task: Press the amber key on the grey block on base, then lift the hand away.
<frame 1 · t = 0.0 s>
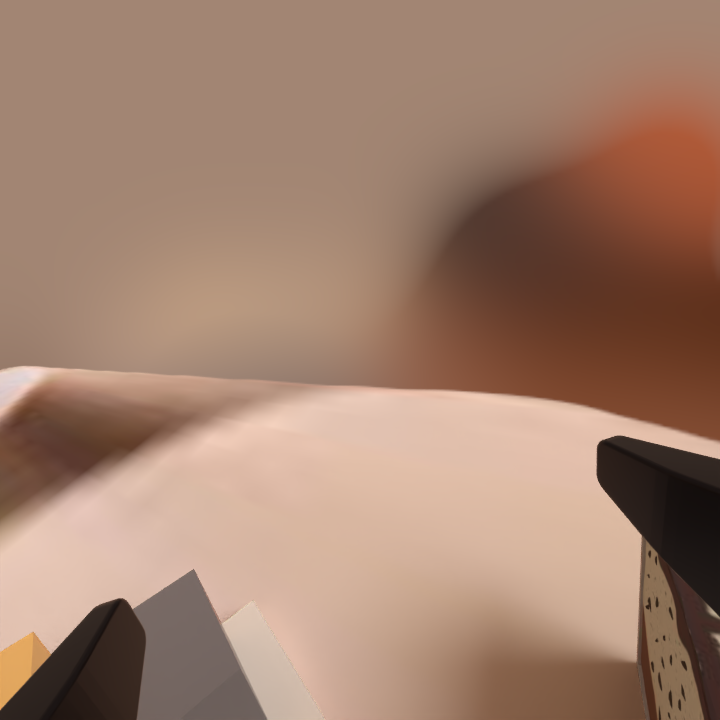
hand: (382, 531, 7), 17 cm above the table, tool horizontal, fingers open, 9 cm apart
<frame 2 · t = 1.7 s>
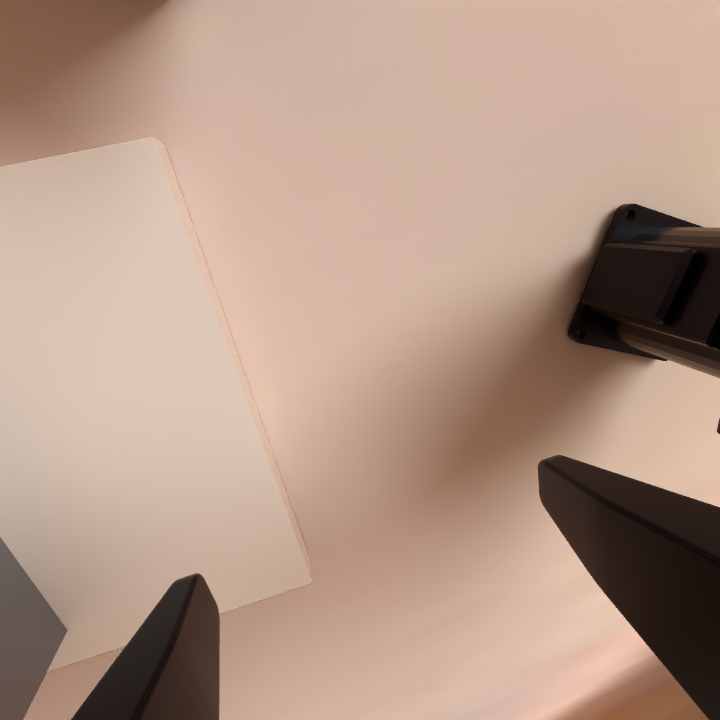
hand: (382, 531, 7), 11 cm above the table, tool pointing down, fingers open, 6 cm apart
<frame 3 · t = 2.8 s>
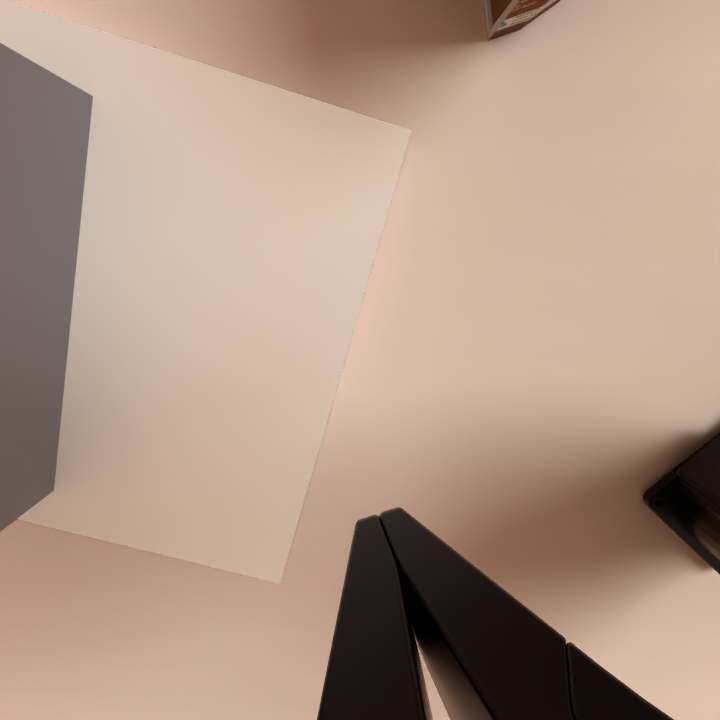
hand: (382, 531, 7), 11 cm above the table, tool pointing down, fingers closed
grey block on base: (20, 292, 17), on the table
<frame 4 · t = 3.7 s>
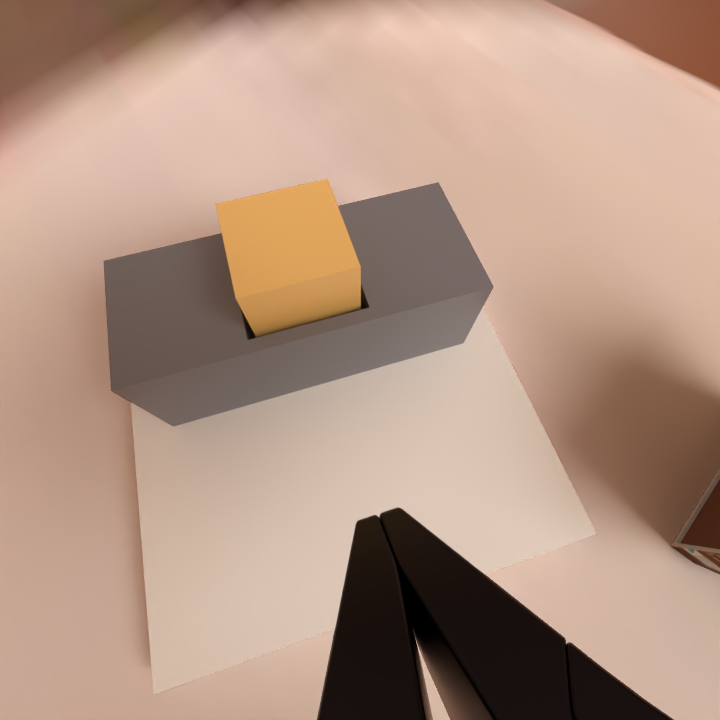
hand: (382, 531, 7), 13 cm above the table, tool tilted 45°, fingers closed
amber key: (291, 259, 16), point 8 cm above the table, slide at 0.0 cm
grey block on base: (312, 344, 24), on the table
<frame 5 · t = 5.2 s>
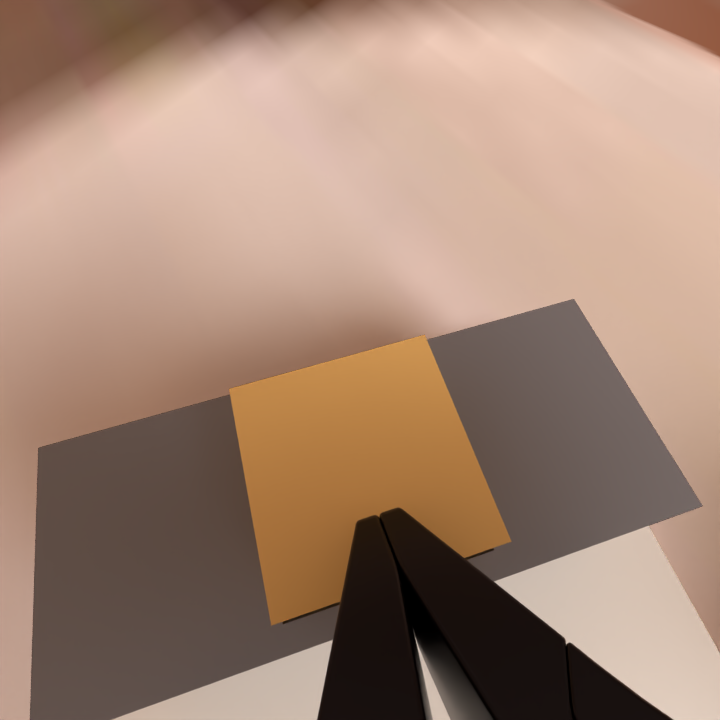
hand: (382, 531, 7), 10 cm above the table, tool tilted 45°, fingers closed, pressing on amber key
amber key: (359, 470, 9), point 8 cm above the table, slide at 0.1 cm, touching gripper
grey block on base: (360, 500, 17), on the table
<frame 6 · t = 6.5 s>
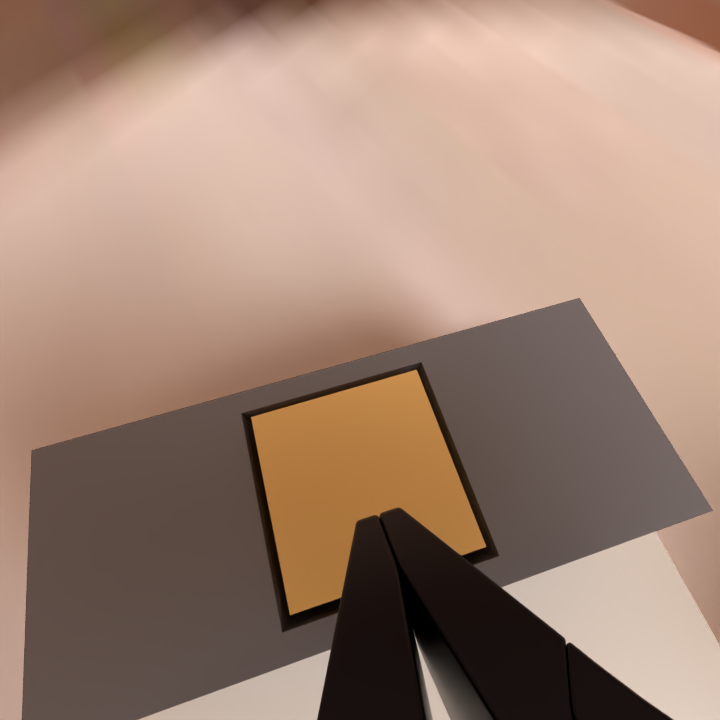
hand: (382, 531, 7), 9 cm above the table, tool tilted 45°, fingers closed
amber key: (361, 485, 11), point 6 cm above the table, slide at 2.2 cm
grey block on base: (361, 502, 16), on the table
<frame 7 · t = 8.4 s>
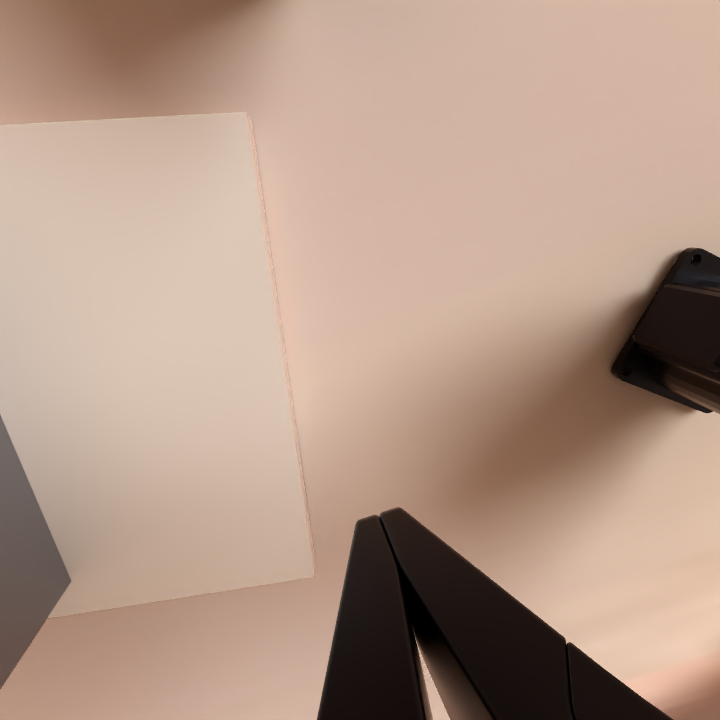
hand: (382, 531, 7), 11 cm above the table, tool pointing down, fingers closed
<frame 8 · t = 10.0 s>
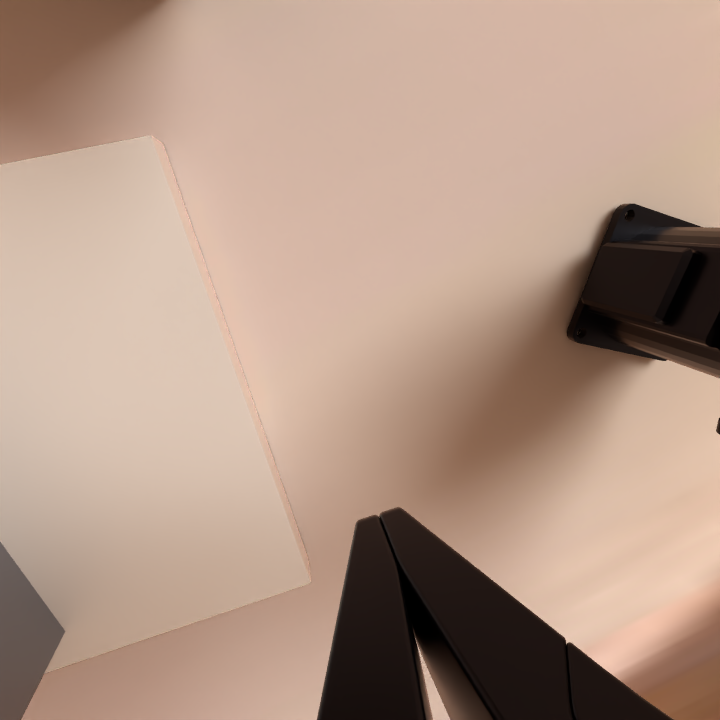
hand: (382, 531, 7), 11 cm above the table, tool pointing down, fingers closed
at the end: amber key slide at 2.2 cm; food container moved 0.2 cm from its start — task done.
